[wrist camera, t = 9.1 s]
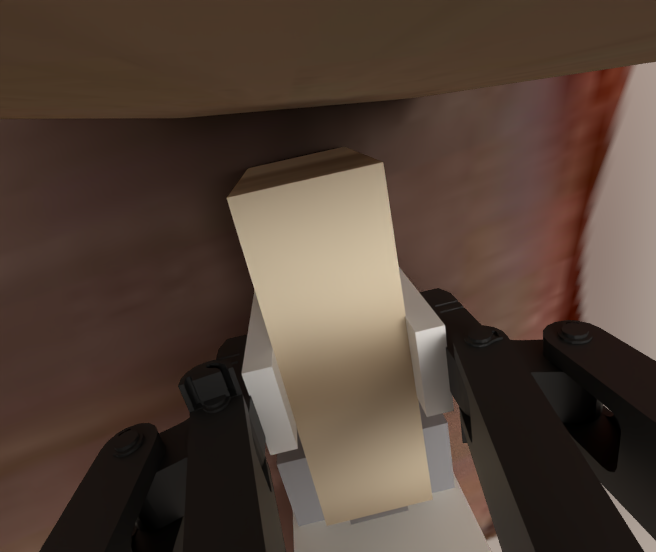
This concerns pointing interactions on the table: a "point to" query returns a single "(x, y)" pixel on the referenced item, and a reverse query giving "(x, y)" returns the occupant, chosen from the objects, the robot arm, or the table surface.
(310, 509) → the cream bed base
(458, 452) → the table surface
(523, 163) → the table surface
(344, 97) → the block
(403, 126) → the table surface
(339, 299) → the rail
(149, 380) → the table surface
